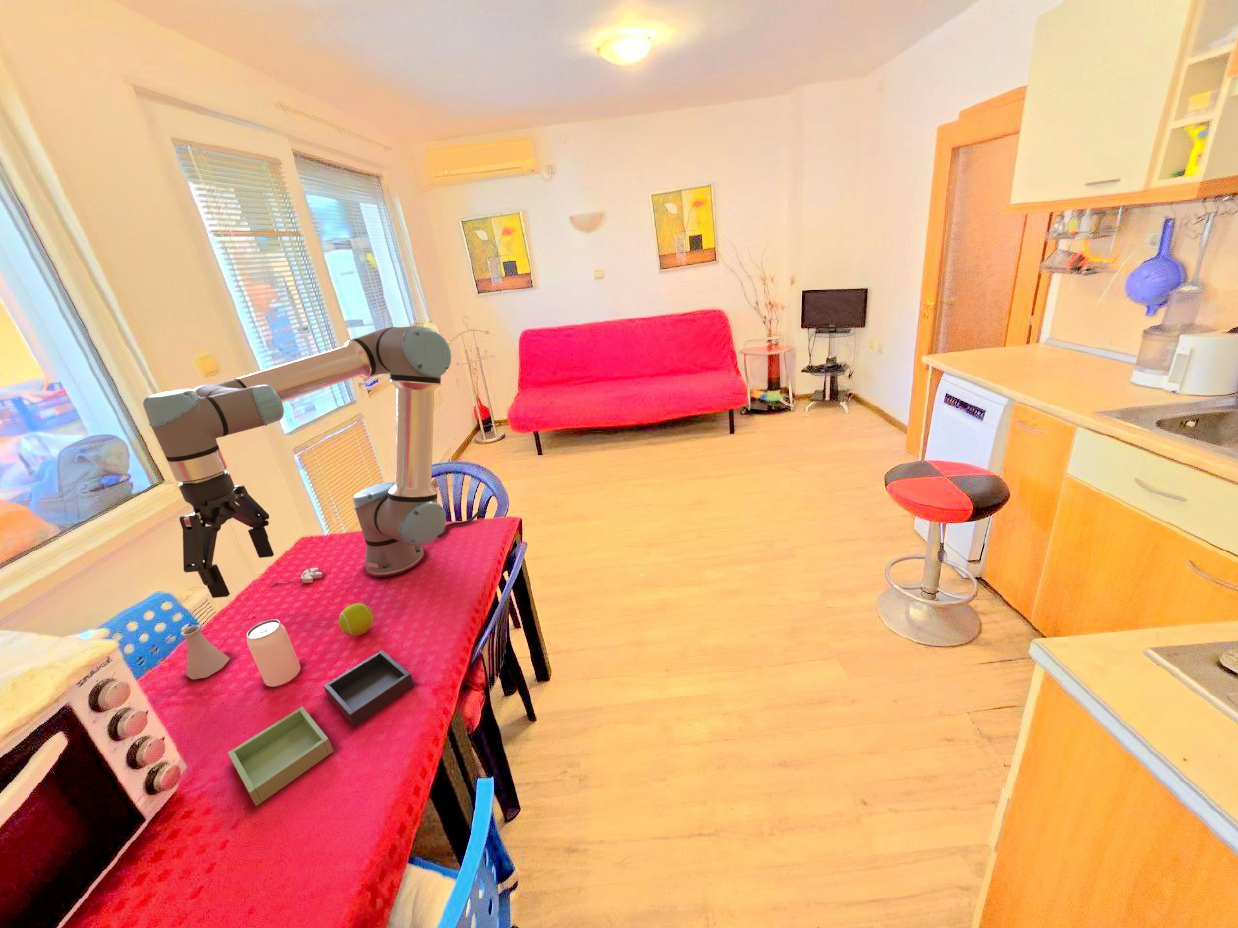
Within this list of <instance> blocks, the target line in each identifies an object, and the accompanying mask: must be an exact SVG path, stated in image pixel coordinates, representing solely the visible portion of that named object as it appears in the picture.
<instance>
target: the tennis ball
mask: <svg viewBox="0 0 1238 928" xmlns="http://www.w3.org/2000/svg"><path fill="white" fill-rule="evenodd" d="M374 614H375V613H374V612H373V610H372V608H371V606H369V605H367V604H365V603H360V602H359V603H358V602H357V603H352V604H350V605H347V606H346V607H345V608H344V609H343V610H342V612H340V615H339V616H338V626H339V629H340V630H341V631H342V632H343V633H344V634H345V635H348V636H351V637H356V636H357V637H358V636H361V635H364V634H366V633H367V632H368V631H369V630H370V629H371V627H372V626H373V624H374V619H375V615H374Z"/></svg>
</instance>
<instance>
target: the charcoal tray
mask: <svg viewBox="0 0 1238 928" xmlns="http://www.w3.org/2000/svg"><path fill="white" fill-rule="evenodd" d="M414 686H415V684H414V681H413V678H412V674H411V673H410V672H409V671H407V670H406V669H405V668H404V667H402V666H401V664H399V663H398V662H397V661H396V660H394V659H393V658H392V657H391V656H390V655H389V654H387V653H386V652H385V651H384V650H383V649H381V650H379V651H378V652H376V653H375V654H373V655H371V656H369V657H368V658H366V659H364V660H363V661H361V662H359V663H358V664H356V665H355V666H353V667H350V669H348V670H346V671H345V672H343V673H342V674H340V675H338V676H337V677H335V678H334V679H332V680H330V681H329V682H327V683H326V684H324V685H323V689H324V691H325V694H326V696H327V698H328V699H329V700H330V702H331V703H332V704H333V705H334V707H336V709H338V711H339V712H340V713H341V714H342V716H344V717H345V718H346V720H347V721H348V722H349V724H350V725H352V726H353V727H354V728H355V727H357V726H359V725H360V724H362V723H363V722H365V721H366V720H367V719H369V718H370V717H372V716H373V715H374V714H377V712H379V711H380V710H382V709H384V708H385V707H386V706H388V705H389V704H391V703H392V702H393V701H395V700H396V699H398V698H399V697H400V696H402V695H404V694H405V693H406V692H407V691H409V690H410V689H412V688H413V687H414Z"/></svg>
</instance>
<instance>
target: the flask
mask: <svg viewBox="0 0 1238 928" xmlns="http://www.w3.org/2000/svg"><path fill="white" fill-rule="evenodd" d="M201 630H202V626H200V625H199V624H196V625H190V626H189V627H186V628H185V629H184V630H182V631H181V632H180V636H182V637H184V639H185V642H186V647H187V648H186V649H187V657H186V659H187V660H186V669H185V670H186V673H185V676H186V677H188V678H189V679H191V680H199V679H205V678H206V679H207V678H208V677H210V676H212V675H213V674H215V673H216V672H219V671H220V670H222V669H223V668H224V667H225V665H227V663H228V662H229V661H230V660H231V657H229V656H228V655H227V654H226V653H224V652H223V651H222V650H220V649H219V648H217V647H216V646H215V645H213V643H211V642H210V641H209V640H208V639H207V638H206V637H205V635H204V634H203V632H202V631H201Z"/></svg>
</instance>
